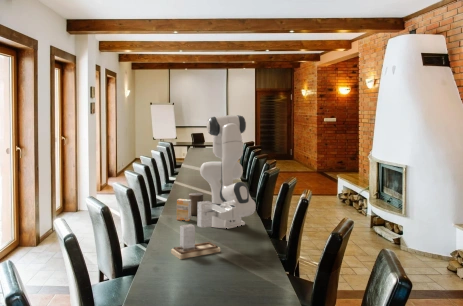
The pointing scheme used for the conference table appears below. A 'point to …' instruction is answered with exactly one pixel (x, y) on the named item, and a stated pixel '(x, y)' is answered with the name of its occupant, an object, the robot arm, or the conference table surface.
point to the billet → (187, 237)
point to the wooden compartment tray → (196, 250)
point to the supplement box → (183, 209)
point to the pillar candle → (195, 201)
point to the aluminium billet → (201, 218)
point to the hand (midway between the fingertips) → (203, 213)
